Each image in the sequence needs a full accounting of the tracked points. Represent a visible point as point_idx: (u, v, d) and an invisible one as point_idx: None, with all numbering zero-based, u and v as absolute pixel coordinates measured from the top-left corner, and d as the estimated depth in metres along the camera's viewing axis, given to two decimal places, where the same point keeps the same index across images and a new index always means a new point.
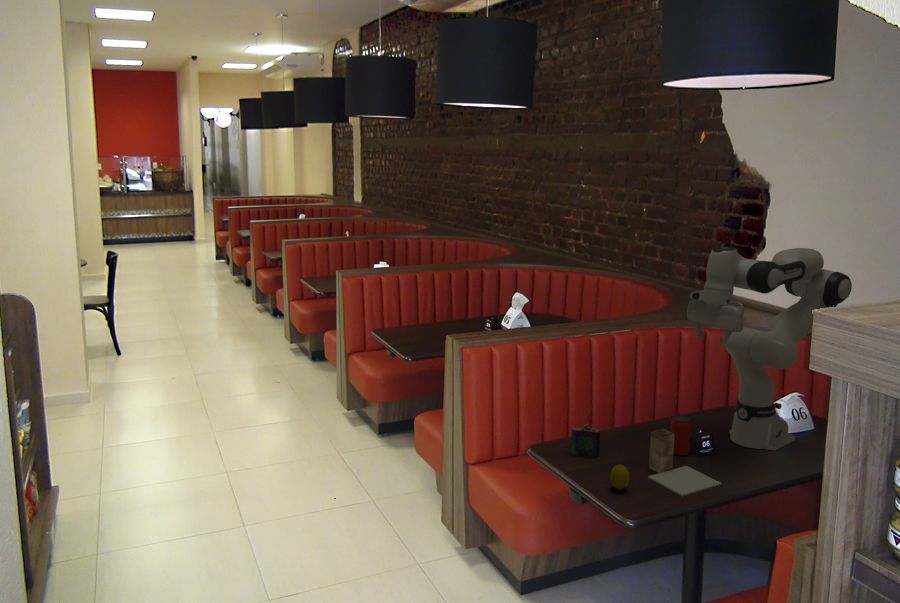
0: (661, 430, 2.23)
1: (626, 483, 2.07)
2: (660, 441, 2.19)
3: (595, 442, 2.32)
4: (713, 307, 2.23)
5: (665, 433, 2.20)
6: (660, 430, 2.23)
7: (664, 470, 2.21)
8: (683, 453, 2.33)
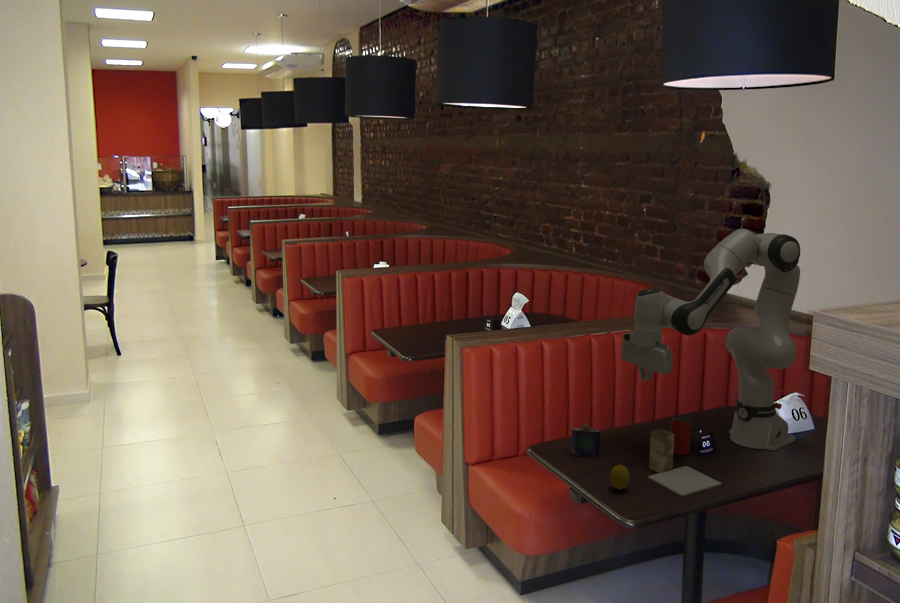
0: (661, 430, 2.23)
1: (626, 483, 2.07)
2: (660, 441, 2.19)
3: (595, 442, 2.32)
4: (643, 349, 2.27)
5: (665, 433, 2.20)
6: (660, 430, 2.23)
7: (664, 470, 2.21)
8: (683, 453, 2.33)
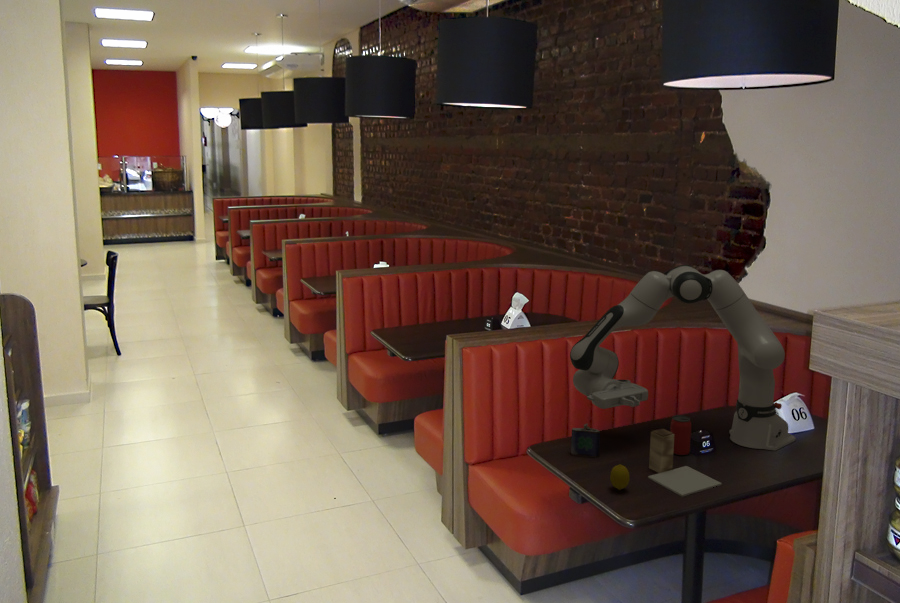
0: (661, 430, 2.23)
1: (626, 483, 2.07)
2: (660, 441, 2.19)
3: (595, 442, 2.32)
4: None
5: (665, 433, 2.20)
6: (660, 430, 2.23)
7: (664, 470, 2.21)
8: (683, 453, 2.33)
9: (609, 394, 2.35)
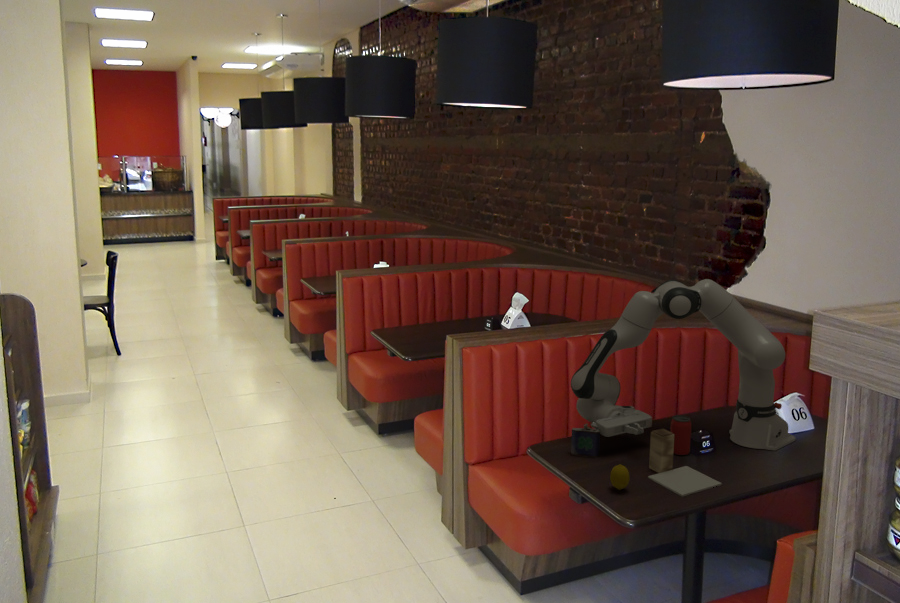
0: (661, 430, 2.23)
1: (626, 483, 2.07)
2: (660, 441, 2.19)
3: (595, 442, 2.32)
4: None
5: (665, 433, 2.20)
6: (660, 430, 2.23)
7: (664, 470, 2.21)
8: (683, 453, 2.33)
9: (613, 422, 2.35)
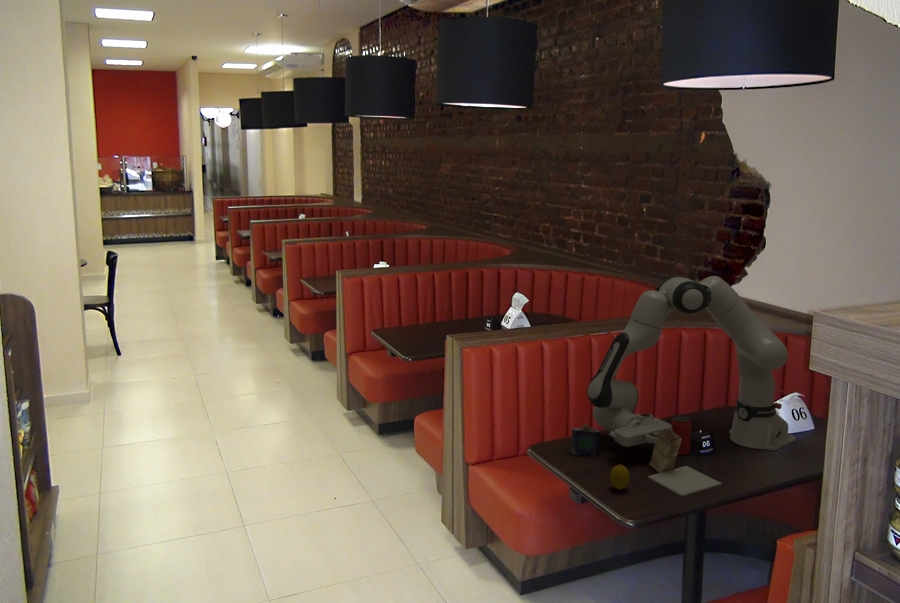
0: (669, 432, 2.20)
1: (626, 483, 2.07)
2: (666, 445, 2.17)
3: (595, 442, 2.32)
4: None
5: (673, 437, 2.17)
6: (668, 432, 2.20)
7: (664, 470, 2.21)
8: (683, 453, 2.33)
9: (632, 431, 2.26)
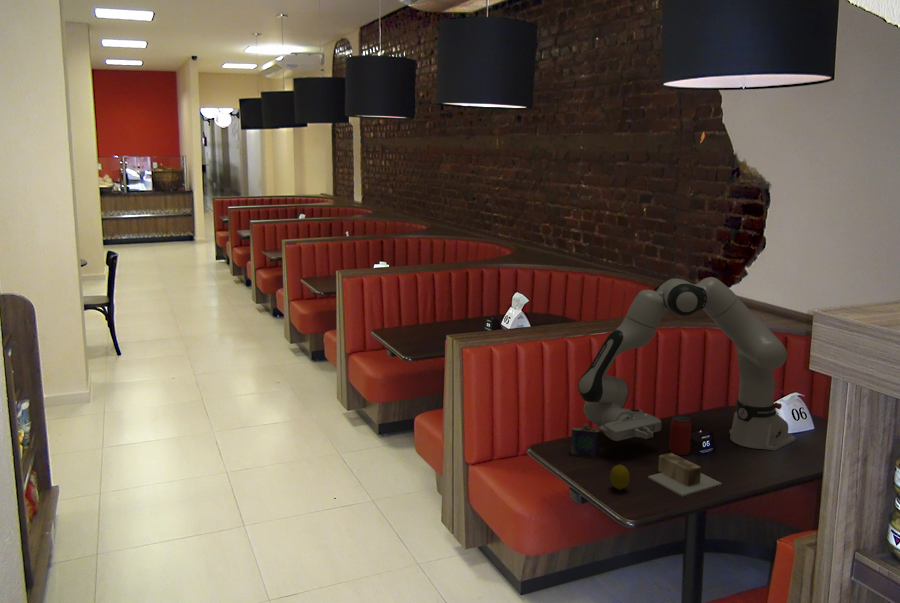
0: (696, 472, 2.11)
1: (626, 483, 2.07)
2: (683, 481, 2.12)
3: (595, 442, 2.32)
4: None
5: (694, 481, 2.11)
6: (696, 472, 2.11)
7: None
8: (683, 453, 2.33)
9: (622, 425, 2.30)
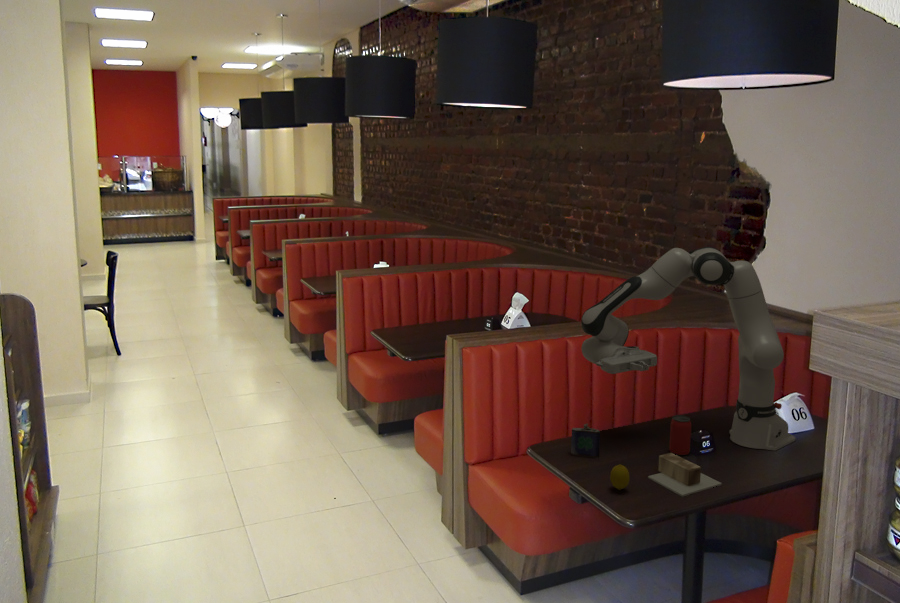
0: (696, 472, 2.11)
1: (626, 483, 2.07)
2: (683, 481, 2.12)
3: (595, 442, 2.32)
4: None
5: (694, 481, 2.11)
6: (696, 472, 2.11)
7: None
8: (683, 453, 2.33)
9: (618, 360, 2.35)
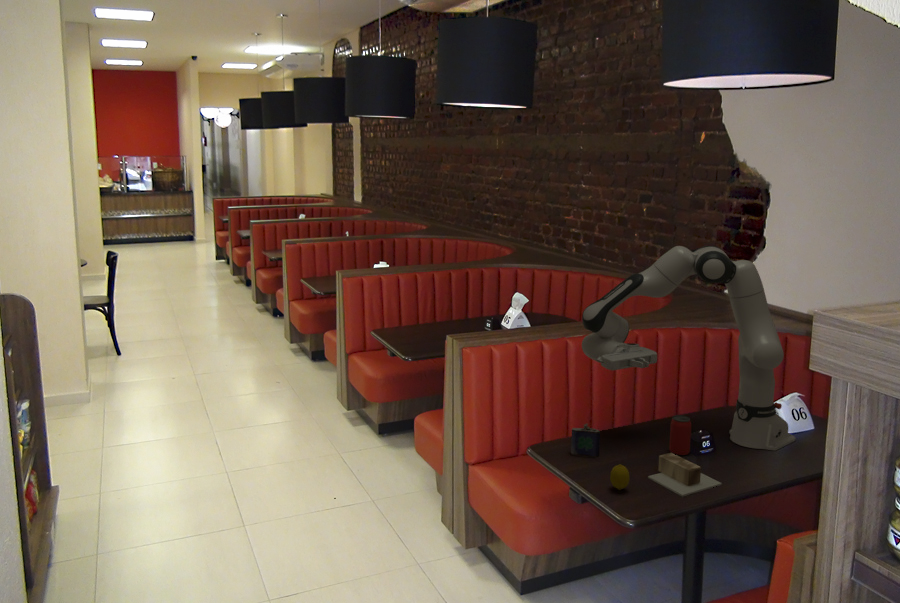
0: (696, 472, 2.11)
1: (626, 483, 2.07)
2: (683, 481, 2.12)
3: (595, 442, 2.32)
4: None
5: (694, 481, 2.11)
6: (696, 472, 2.11)
7: None
8: (683, 453, 2.33)
9: (618, 356, 2.35)
